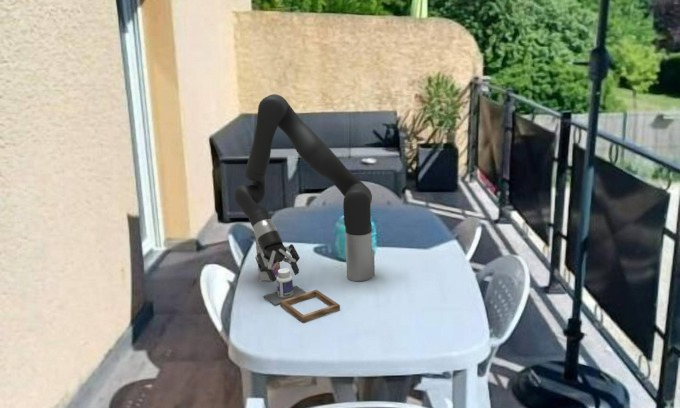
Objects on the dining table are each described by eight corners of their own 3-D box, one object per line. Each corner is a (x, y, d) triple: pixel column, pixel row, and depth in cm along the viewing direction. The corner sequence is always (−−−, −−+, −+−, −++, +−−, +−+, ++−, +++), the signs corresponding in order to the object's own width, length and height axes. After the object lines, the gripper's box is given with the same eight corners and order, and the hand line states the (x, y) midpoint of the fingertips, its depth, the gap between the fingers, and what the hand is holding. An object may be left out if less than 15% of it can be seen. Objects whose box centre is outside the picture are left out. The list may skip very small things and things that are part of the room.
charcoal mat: (296, 287, 224) (296, 285, 223) (308, 295, 217) (308, 293, 217) (263, 297, 217) (263, 295, 217) (274, 306, 210) (274, 304, 210)
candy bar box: (267, 268, 240) (264, 227, 235) (280, 269, 239) (277, 227, 234) (258, 281, 229) (254, 238, 224) (271, 282, 228) (268, 238, 223)
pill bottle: (295, 292, 218) (294, 268, 216) (289, 299, 214) (288, 274, 211) (281, 290, 220) (279, 266, 217) (275, 297, 215) (273, 272, 213)
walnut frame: (316, 294, 218) (316, 289, 217) (340, 309, 207) (339, 304, 206) (280, 306, 210) (280, 301, 210) (302, 322, 199) (302, 317, 199)
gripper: (251, 235, 213) (270, 278, 208) (288, 225, 221) (308, 267, 215) (245, 245, 219) (263, 287, 213) (282, 235, 226) (300, 276, 221)
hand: (286, 277), depth 214 cm, fingers open, 8 cm apart
